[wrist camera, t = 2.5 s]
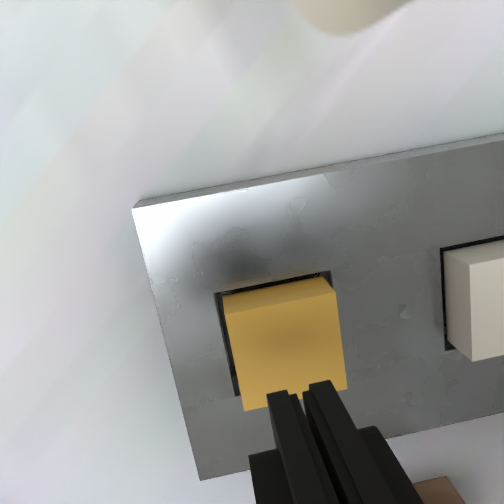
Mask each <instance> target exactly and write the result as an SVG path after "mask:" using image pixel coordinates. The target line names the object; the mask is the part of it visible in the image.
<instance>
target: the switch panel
mask: <svg viewBox="0 0 504 504" xmlns="http://www.w3.org/2000/svg"><path fill="white" fill-rule="evenodd" d="M132 213H133V217H134V221H135V225H136V229H137V233H138V237H139V240H140V244H141V248H142V252H143V256H144V260H145V264H146V268H147V272H148V276H149V280H150V284H151V288H152V292H153V296H154V300H155V304H156V308H157V312H158V316H159V320H160V324H161V328H162V332H163V336H164V340H165V344H166V348H167V352H168V356H169V360H170V364H171V368H172V372H173V375H174V379H175V383H176V387H177V391H178V395H179V399H180V403H181V407H182V411H183V415H184V419H185V423H186V427H187V431H188V435H189V439H190V443H191V447H192V451H193V455H194V459H195V463H196V467H197V471H198V475H199V479H200V481H202V480H206V479H211V478H215V477H220V476H224V475H228V474H233V473H237V472H242V471H246V470H250V464H249V458H248V455H252V454H256V453H260V452H264V451H268V450H272V449H276V446H275V441H274V435H273V430H272V424H271V419H270V414H269V408H268V406H267V407H262V408H258V409H253V410H249V411H244V407H243V402H242V397H241V393H240V388H239V383H238V378H237V373H236V370H234V371H232V370H231V365H230V360H229V356H228V351H227V346H226V341H225V336H224V332H223V327H222V322H221V317H220V312H219V308H218V303H217V298H216V293H218V292H223V291H228V290H233V289H238V288H243V287H248V286H253V285H258V284H263V283H268V282H273V281H278V280H282V279H287V278H292V277H297V276H302V275H307V274H312V273H317V272H320V276H322V277H323V278H324V279H325V280H326V281H327V283H328V284H329V285H330V286H331V287H332V289H333V290H334V291H335V292H336V300H337V308H338V316H339V324H340V332H341V340H342V348H343V356H344V364H345V372H346V380H347V389H345V390H340V391H337V393H338V395H339V397H340V398H341V400H342V402H343V404H344V406H345V408H346V409H347V411H348V413H349V415H350V417H351V419H352V420H353V422H354V424H355V426H356V428H357V429H361V428H365V427H369V426H373V425H374V426H376V427H377V428H378V429H379V431H380V432H381V434H382V436H383V437H384V439H388V438H392V437H396V436H401V435H405V434H410V433H414V432H418V431H423V430H427V429H432V428H436V427H441V426H445V425H449V424H454V423H458V422H463V421H467V420H471V419H476V418H480V417H485V416H489V415H494V414H498V413H502V412H504V355H501V356H496V357H492V358H487V359H483V360H478V361H474V362H472V361H471V360H470V359H469V358H467V357H466V356H465V355H464V354H463V353H462V352H460V351H459V350H458V349H457V348H456V347H455V346H453V345H452V344H451V343H450V342H449V341H448V340H447V325H446V326H443V306H442V286H441V266H440V248H442V247H447V246H452V245H457V244H462V243H467V242H472V241H477V240H482V239H487V238H492V237H497V236H502V235H504V133H501V134H495V135H490V136H485V137H479V138H474V139H468V140H463V141H458V142H452V143H447V144H441V145H436V146H431V147H425V148H420V149H415V150H409V151H404V152H398V153H393V154H388V155H382V156H377V157H371V158H366V159H361V160H355V161H350V162H345V163H339V164H334V165H328V166H323V167H318V168H312V169H307V170H301V171H296V172H291V173H285V174H280V175H275V176H269V177H264V178H258V179H253V180H248V181H242V182H237V183H231V184H226V185H221V186H215V187H210V188H205V189H199V190H194V191H188V192H183V193H178V194H172V195H167V196H161V197H156V198H151V199H145V200H140V201H139V202H138V203H137V204H136V205H135V206H134V207H133V208H132ZM299 401H300V404H301V406H302V409H303V411H304V414H305V409H304V402H303V399H299ZM305 416H306V415H305Z"/></svg>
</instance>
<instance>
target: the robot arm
mask: <svg viewBox="0 0 504 504" xmlns="http://www.w3.org/2000/svg"><path fill="white" fill-rule="evenodd" d="M302 396H303V402H304V409H305V414H304V411H303V409H302V406H301V404H300V401H299V398H298V396H297V394H296V393H295V394H290V395H289V393H288V391H287V389H286V390H281V391H277V392H272V393H268V394H266V397H267V403H268V408H269V414H270V419H271V424H272V430H273V435H274V441H275V446H276V449H272V450H268V451H264V452H260V453H256V454H252V455H248V458H249V464H250V470H251V476H252V482H253V488H254V493H255V499H256V504H424V503H423V501H422V499H421V498H420V496H419V494H418V493H417V491H416V489H415V488H414V486H413V485H412V483H411V481H410V480H409V478H408V476H407V475H406V473H405V471H404V470H403V468H402V467H401V465H400V463H399V462H398V460H397V458H396V457H395V455H394V454H393V452H392V450H391V449H390V447H389V445H388V444H387V442H386V440H385V439H384V437H383V436H382V434H381V432H380V431H379V429H378V428H377V427H376V426H374V425H373V426H369V427H365V428H361V429H357V428H356V426H355V424H354V422H353V420H352V419H351V417H350V415H349V413H348V411H347V409H346V408H345V406H344V404H343V402H342V400H341V398H340V397H339V395H338V393H337V391H336V389H335V387H334V385H333V384H332V382H331V380H325V381H321V382H316V383H312V384H309V390H308V391H303V392H302ZM305 415H306V416H305Z"/></svg>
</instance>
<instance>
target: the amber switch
mask: <svg viewBox="0 0 504 504" xmlns="http://www.w3.org/2000/svg"><path fill="white" fill-rule="evenodd" d="M222 299H223V306H224V314H225V319H226V324H227V329H228V334H229V339H230V344H231V349H232V354H233V358H234V363H235V368H236V373H237V378H238V383H239V388H240V393H241V397H242V402H243V407H244V411H249V410H253V409H258V408H262V407H267V406H268V403H267V397H266V394H268V393H272V392H277V391H281V390H286V389H287V391H288V393H289V395H290V394H295V393H296V394H297V396H298V398H299V399H303V396H302V392H303V391H308V390H309V384H312V383H316V382H321V381H325V380H331V382H332V384H333V385H334V387H335V389H336V391H340V390H345V389H347V380H346V372H345V364H344V356H343V348H342V340H341V332H340V324H339V316H338V308H337V300H336V292H335V291H334V290H333V289H332V287H331V286H330V285H329V284H328V283H327V281H326V280H325V279H324V278H323V277H322V276H320V277H315V278H310V279H305V280H300V281H295V282H290V283H285V284H280V285H275V286H270V287H265V288H260V289H255V290H251V291H246V292H241V293H236V294H231V295H226V296H222Z"/></svg>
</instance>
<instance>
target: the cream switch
mask: <svg viewBox="0 0 504 504" xmlns="http://www.w3.org/2000/svg"><path fill="white" fill-rule="evenodd" d="M443 258H444V279H445V300H446V321H447V340H448V341H449V342H450V343H451V344H452V345H453V346H455V347H456V348H457V349H458V350H459V351H460V352H462V353H463V354H464V355H465V356H466V357H467V358H469V359H470V360H471V361H472V362H474V361H478V360H483V359H487V358H492V357H496V356H501V355H504V240H499V241H494V242H489V243H484V244H479V245H474V246H469V247H464V248H459V249H454V250H449V251H444V252H443Z"/></svg>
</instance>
